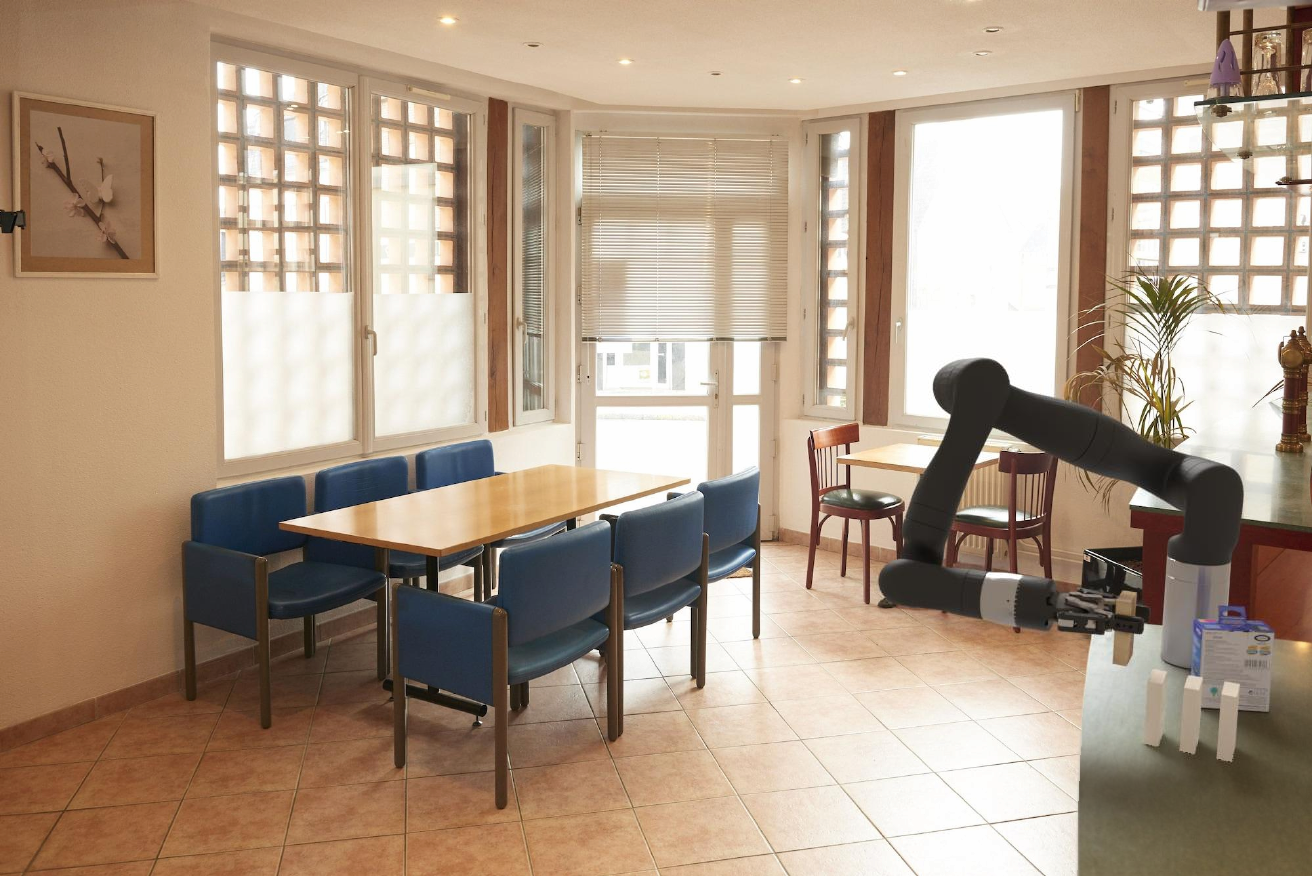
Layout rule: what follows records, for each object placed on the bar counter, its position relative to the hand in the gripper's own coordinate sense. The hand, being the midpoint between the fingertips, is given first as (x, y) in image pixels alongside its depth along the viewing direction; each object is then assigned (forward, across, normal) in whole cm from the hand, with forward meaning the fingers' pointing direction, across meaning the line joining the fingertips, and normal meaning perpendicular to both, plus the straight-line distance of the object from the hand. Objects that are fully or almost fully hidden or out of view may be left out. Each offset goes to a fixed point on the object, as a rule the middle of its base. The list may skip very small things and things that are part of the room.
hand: (1146, 620), depth 145 cm
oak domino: (-3, 0, +6) cm, 7 cm away
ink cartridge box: (+10, +18, +17) cm, 26 cm away
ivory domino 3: (+11, 0, +17) cm, 20 cm away
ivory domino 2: (+6, 0, +17) cm, 18 cm away
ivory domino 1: (+2, 0, +17) cm, 17 cm away
